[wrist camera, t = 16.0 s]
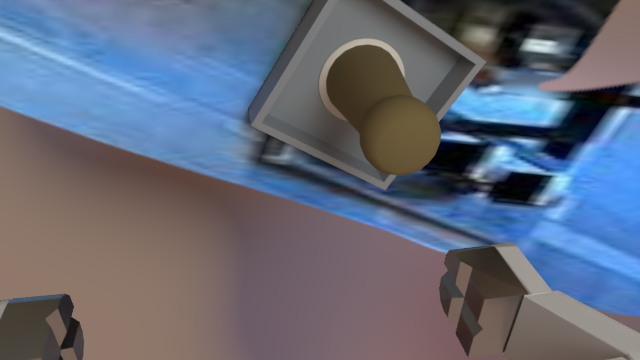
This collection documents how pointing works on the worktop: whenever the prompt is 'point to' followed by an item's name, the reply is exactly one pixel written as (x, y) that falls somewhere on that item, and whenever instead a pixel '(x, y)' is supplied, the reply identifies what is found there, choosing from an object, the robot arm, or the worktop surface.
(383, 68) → the cork
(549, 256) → the worktop surface
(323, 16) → the tray
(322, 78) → the resting spot
